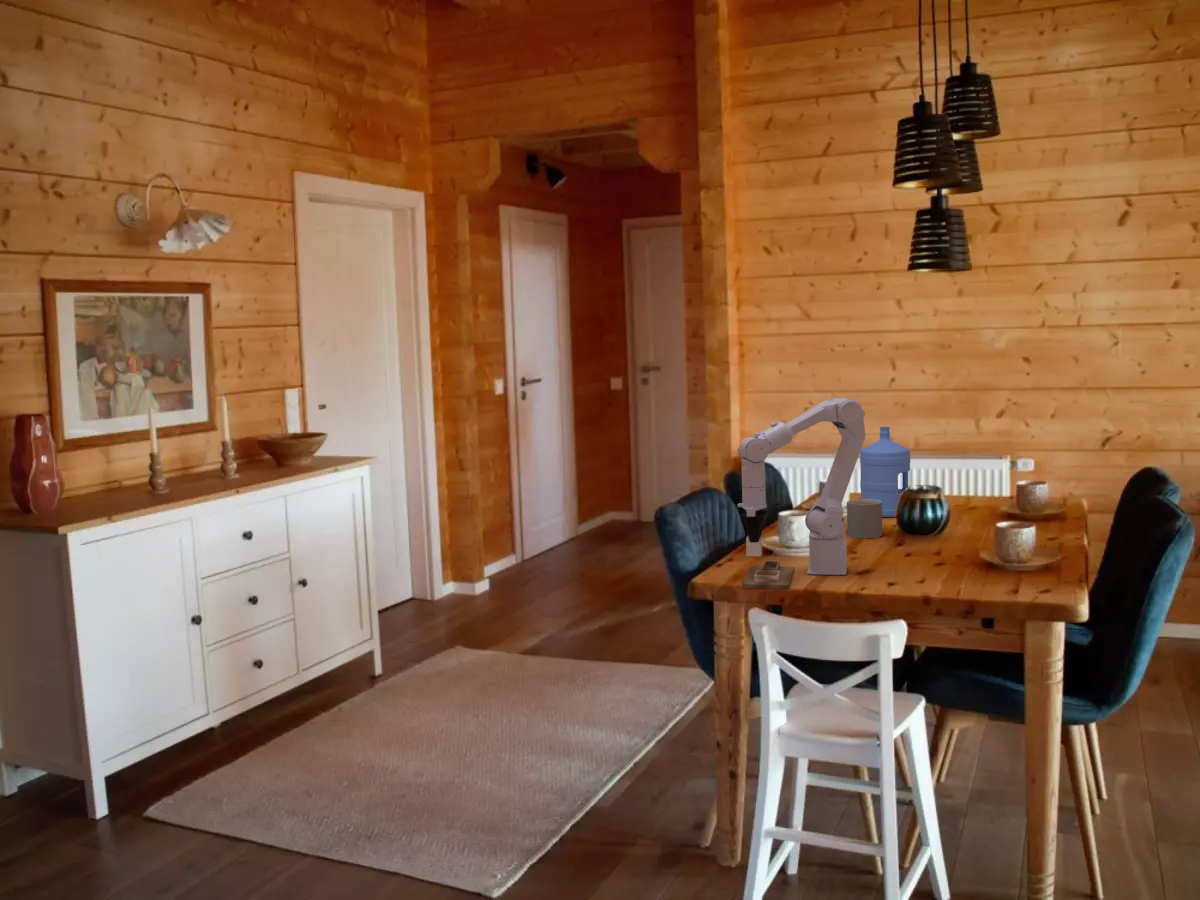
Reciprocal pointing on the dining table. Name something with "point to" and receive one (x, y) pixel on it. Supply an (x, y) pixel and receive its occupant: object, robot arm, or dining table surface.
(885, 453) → the water jug
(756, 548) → the square peg
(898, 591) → the dining table surface
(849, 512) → the coffee mug
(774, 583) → the socket board
